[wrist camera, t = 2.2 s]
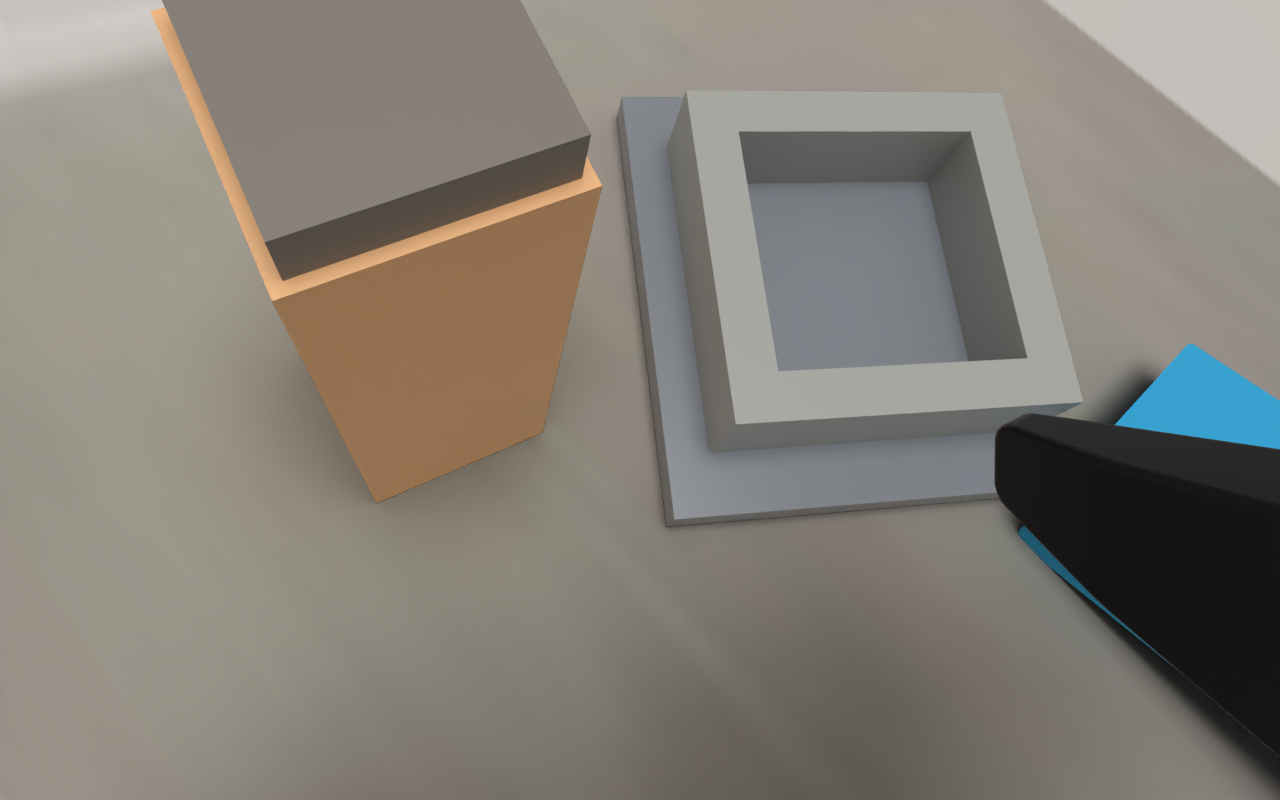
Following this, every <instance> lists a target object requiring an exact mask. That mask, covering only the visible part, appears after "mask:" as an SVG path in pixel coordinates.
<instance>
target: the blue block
mask: <svg viewBox="0 0 1280 800" xmlns="http://www.w3.org/2000/svg"><path fill="white" fill-rule="evenodd" d="M1115 425H1118V426H1125V427H1132V428H1139V429H1146V430H1152V431H1159V432H1166V433H1173V434H1180V435H1187V436H1194V437H1200V438H1207V439H1214V440H1221V441H1228V442H1235V443H1242V444H1249V445H1255V446H1262V447H1269V448H1276V449H1280V401H1279V400H1277V399H1276V398H1274V397H1273V396H1271V395H1270V394H1268V393H1267V392H1265V391H1263V390H1262V389H1260V388H1259V387H1257V386H1256V385H1254V384H1253V383H1251V382H1250V381H1248V380H1247V379H1245V378H1244V377H1242V376H1241V375H1239V374H1238V373H1236V372H1235V371H1233V370H1232V369H1230V368H1228V367H1227V366H1225V365H1224V364H1222V363H1221V362H1219V361H1218V360H1216V359H1215V358H1213V357H1212V356H1210V355H1209V354H1207V353H1206V352H1204V351H1203V350H1201V349H1200V348H1198V347H1197V346H1195V345H1193V344H1188V345H1187V346H1186V347H1185V348H1184V349H1183V350H1182V351H1181V353H1180V354H1179V355H1178V356H1177V357H1176V358H1175V359H1174V360H1173V361H1172V362H1171V364H1170V365H1169V366H1168V367H1167V368H1166V369H1165V370H1164V371H1163V372H1162V373H1161V375H1160V376H1159V377H1158V378H1157V379H1156V380H1155V381H1154V382H1153V383H1152V384H1151V386H1150V387H1149V388H1148V389H1147V390H1146V391H1145V392H1144V393H1143V394H1142V395H1141V397H1140V398H1139V399H1138V400H1137V401H1136V402H1135V403H1134V404H1133V405H1132V406H1131V408H1130V409H1129V410H1128V411H1127V412H1126V413H1125V414H1124V415H1123V416H1122V417H1121V419H1120V420H1119V421H1118V422H1117V423H1116V424H1115ZM1019 536H1020V537H1021V538H1022V539H1023V540H1024V541H1025V542H1026V544H1027V545H1028V546H1029V547H1030V548H1031V549H1032V550H1033V551H1034V552H1035V553H1036V554H1037V555H1038V556H1039V557H1040V558H1041V559H1042V560H1043V561H1044V562H1045V563H1046V564H1047V565H1048V566H1049V567H1051V568H1052V569H1053V570H1054V571H1055V572H1057V573H1058V574H1059V575H1060V576H1062V577H1063V578H1064V579H1065V580H1067V581H1068V582H1069V583H1070V584H1072V585H1073V586H1074V587H1075V588H1076V589H1078V590H1079V591H1080V592H1081V593H1083V594H1084V595H1085V596H1086V597H1088V598H1089V599H1090V600H1091V601H1093V602H1094V603H1095V604H1096V605H1097V606H1099V607H1100V608H1101V609H1102V610H1104V611H1105V612H1106V613H1107V614H1109V615H1110V616H1111V617H1112V618H1114V619H1115V620H1116V621H1117V622H1118V623H1120V624H1121V625H1122V626H1123V627H1125V628H1126V629H1127V630H1128V631H1130V632H1131V633H1132V634H1133V635H1135V636H1136V637H1137V638H1138V639H1140V640H1141V641H1142V642H1143V643H1144V644H1146V645H1147V646H1148V647H1149V648H1151V647H1150V646H1149V645H1148V644H1147V643H1145V642H1144V641H1143V640H1142V639H1141V638H1140V637H1138V636H1137V635H1136V634H1135V633H1134V632H1133V631H1131V630H1130V629H1129V628H1128V627H1127V626H1126V625H1124V624H1123V623H1122V622H1121V621H1120V620H1119V619H1117V618H1116V617H1115V616H1114V615H1113V614H1112V613H1110V612H1109V611H1108V610H1107V609H1106V608H1105V607H1104V606H1103V605H1102V604H1100V603H1099V602H1098V601H1097V600H1096V599H1095V598H1094V597H1093V596H1092V595H1091V594H1090V593H1089V592H1088V591H1087V590H1086V589H1085V588H1084V587H1083V586H1082V585H1081V584H1080V583H1079V582H1078V581H1077V580H1076V579H1075V578H1074V577H1073V576H1072V575H1071V574H1070V573H1069V572H1068V571H1067V570H1066V569H1065V568H1064V567H1063V566H1062V565H1061V564H1060V562H1059V561H1058V560H1057V559H1056V558H1055V557H1054V556H1053V555H1052V554H1051V553H1050V552H1049V551H1048V550H1047V549H1046V548H1045V547H1044V546H1043V545H1042V544H1041V543H1040V542H1039V541H1038V540H1037V539H1036V538H1035V537H1034V535H1033V534H1032V533H1031V532H1030V531H1029V530H1028V529H1027V528H1026V527H1025V526H1023V527H1022V528H1021V529H1020V530H1019ZM1151 649H1152V648H1151ZM1152 650H1153V651H1154V652H1156V651H1155V650H1154V649H1152ZM1156 653H1157V652H1156ZM1157 654H1158V653H1157ZM1158 655H1159V654H1158ZM1159 656H1161V655H1159ZM1161 657H1162V656H1161ZM1162 658H1163V657H1162ZM1163 659H1164V658H1163ZM1164 660H1165V659H1164ZM1165 661H1166V660H1165ZM1167 662H1168V661H1167ZM1168 663H1169V662H1168ZM1169 664H1170V663H1169ZM1170 665H1171V664H1170ZM1174 668H1175V667H1174ZM1175 669H1176V668H1175Z"/></svg>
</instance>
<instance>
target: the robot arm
mask: <svg viewBox="0 0 1280 800" xmlns="http://www.w3.org/2000/svg"><path fill="white" fill-rule="evenodd" d="M994 484H995V489H996V492H997V494H998V496H999V498H1000V500H1001V501H1002V503H1003V504H1004V505H1005V506H1006V507H1007V508H1008V509H1009V511H1010V512H1011V513H1012V514H1013V515H1014V516H1015V517H1016V518H1017V519H1018V520H1019V521H1020V522H1021V523H1022V524H1023V525H1024V526H1025V527H1026V528H1027V529H1028V530H1029V531H1030V532H1031V533H1032V534H1033V535H1034V537H1035V538H1036V539H1037V540H1038V541H1039V542H1040V543H1041V544H1042V545H1043V546H1044V547H1045V548H1046V549H1047V550H1048V551H1049V552H1050V553H1051V554H1052V555H1053V556H1054V557H1055V558H1056V559H1057V560H1058V561H1059V562H1060V564H1061V565H1062V566H1063V567H1064V568H1065V569H1066V570H1067V571H1068V572H1069V573H1070V574H1071V575H1072V576H1073V577H1074V578H1075V579H1076V580H1077V581H1078V582H1079V583H1080V584H1081V585H1082V586H1083V587H1084V588H1085V589H1086V590H1087V591H1088V592H1089V593H1090V594H1091V595H1092V596H1093V597H1094V598H1095V599H1096V600H1097V601H1098V602H1099V603H1100V604H1102V605H1103V606H1104V607H1105V608H1106V609H1107V610H1108V611H1109V612H1110V613H1112V614H1113V615H1114V616H1115V617H1116V618H1117V619H1119V620H1120V621H1121V622H1122V623H1123V624H1124V625H1126V626H1127V627H1128V628H1129V629H1130V630H1131V631H1133V632H1134V633H1135V634H1136V635H1137V636H1138V637H1140V638H1141V639H1142V640H1143V641H1144V642H1145V643H1147V644H1148V645H1149V646H1150V647H1151V648H1152V649H1154V650H1155V651H1156V652H1157V653H1158V654H1159V655H1161V656H1162V657H1163V658H1164V659H1165V660H1166V661H1168V662H1169V663H1170V664H1171V665H1172V666H1173V667H1175V668H1176V669H1177V670H1178V671H1179V672H1180V673H1182V674H1183V675H1184V676H1185V677H1186V678H1187V679H1189V680H1190V681H1191V682H1192V683H1193V684H1194V685H1196V686H1197V687H1198V688H1199V689H1200V690H1201V691H1203V692H1204V693H1205V694H1206V695H1207V696H1208V697H1210V698H1211V699H1212V700H1213V701H1214V702H1215V703H1217V704H1218V705H1219V706H1220V707H1221V708H1222V709H1224V710H1225V711H1226V712H1227V713H1228V714H1229V715H1231V716H1232V717H1233V718H1234V719H1235V720H1236V721H1238V722H1239V723H1240V724H1241V725H1242V726H1243V727H1245V728H1246V729H1247V730H1248V731H1249V732H1250V733H1252V734H1253V735H1254V736H1255V737H1256V738H1257V739H1259V740H1260V741H1261V742H1262V743H1263V744H1264V745H1266V746H1267V747H1268V748H1269V749H1270V750H1271V751H1273V752H1274V753H1275V754H1276V755H1277V756H1278V757H1280V449H1276V448H1269V447H1262V446H1255V445H1249V444H1242V443H1235V442H1228V441H1221V440H1214V439H1207V438H1200V437H1194V436H1187V435H1180V434H1173V433H1166V432H1159V431H1152V430H1146V429H1139V428H1132V427H1125V426H1118V425H1111V424H1104V423H1098V422H1091V421H1084V420H1077V419H1070V418H1063V417H1057V416H1050V415H1043V414H1036V413H1028V414H1024V415H1022V416H1020V417H1018V418H1016V419H1014V420H1012V421H1010V422H1008V423H1006V424H1004V425H1002V426H1001V427H999V428H998V430H997V432H996V434H995V451H994Z"/></svg>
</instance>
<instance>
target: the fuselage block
mask: <svg viewBox="0 0 1280 800" xmlns="http://www.w3.org/2000/svg"><path fill="white" fill-rule="evenodd" d="M162 1H163V4H164V6H165V8H161V9H157V10H153V11H151V13H152V16H153V18H154V20H155V23H156V25H157V28H158V30H159V32H160V35H161V37H162V40H163V42H164V44H165V47H166V49H167V51H168V54H169V56H170V59H171V61H172V63H173V66H174V68H175V71H176V73H177V75H178V78H179V80H180V83H181V85H182V87H183V90H184V92H185V94H186V97H187V99H188V102H189V104H190V106H191V109H192V111H193V114H194V116H195V118H196V121H197V123H198V125H199V128H200V130H201V133H202V135H203V137H204V140H205V142H206V145H207V147H208V149H209V152H210V154H211V157H212V159H213V161H214V164H215V166H216V168H217V171H218V173H219V176H220V178H221V180H222V183H223V185H224V188H225V190H226V192H227V195H228V197H229V200H230V202H231V204H232V207H233V209H234V211H235V214H236V216H237V219H238V221H239V223H240V226H241V228H242V231H243V233H244V235H245V238H246V240H247V242H248V245H249V247H250V250H251V252H252V254H253V257H254V259H255V262H256V264H257V266H258V269H259V271H260V274H261V276H262V278H263V281H264V283H265V285H266V288H267V290H268V293H269V295H270V297H271V300H272V302H273V304H274V306H275V308H276V310H277V312H278V314H279V316H280V317H281V319H282V321H283V323H284V325H285V327H286V329H287V331H288V333H289V335H290V337H291V339H292V341H293V343H294V345H295V347H296V349H297V350H298V352H299V354H300V356H301V358H302V360H303V362H304V364H305V366H306V368H307V370H308V372H309V374H310V376H311V378H312V380H313V381H314V383H315V385H316V387H317V389H318V391H319V393H320V395H321V397H322V399H323V401H324V403H325V405H326V407H327V409H328V411H329V413H330V414H331V416H332V418H333V420H334V422H335V424H336V426H337V428H338V430H339V432H340V434H341V436H342V438H343V440H344V442H345V444H346V445H347V447H348V449H349V451H350V453H351V455H352V457H353V459H354V461H355V463H356V465H357V467H358V469H359V471H360V473H361V475H362V477H363V478H364V480H365V482H366V484H367V486H368V488H369V490H370V492H371V494H372V496H373V498H374V500H375V502H376V503H378V502H381V501H383V500H386V499H388V498H390V497H393V496H395V495H397V494H400V493H402V492H404V491H407V490H409V489H411V488H414V487H416V486H418V485H421V484H423V483H426V482H428V481H430V480H433V479H435V478H437V477H440V476H442V475H444V474H447V473H449V472H451V471H454V470H456V469H458V468H461V467H463V466H466V465H468V464H470V463H473V462H475V461H477V460H480V459H482V458H484V457H487V456H489V455H491V454H494V453H496V452H498V451H501V450H503V449H506V448H508V447H510V446H513V445H515V444H517V443H520V442H522V441H524V440H527V439H529V438H531V437H534V436H536V435H538V434H541V433H542V432H543V428H544V424H545V420H546V415H547V411H548V407H549V403H550V399H551V395H552V391H553V387H554V382H555V378H556V374H557V370H558V366H559V362H560V358H561V354H562V349H563V345H564V341H565V337H566V333H567V329H568V325H569V321H570V316H571V312H572V308H573V304H574V300H575V296H576V292H577V288H578V283H579V279H580V275H581V271H582V267H583V263H584V259H585V255H586V250H587V246H588V242H589V238H590V234H591V230H592V226H593V221H594V217H595V213H596V209H597V205H598V201H599V197H600V193H601V188H602V185H601V183H600V181H599V179H598V177H597V175H596V173H595V171H594V169H593V167H592V165H591V164H590V162H589V160H588V158H587V151H588V146H589V141H590V136H591V134H590V132H589V130H588V128H587V126H586V124H585V122H584V120H583V119H582V117H581V115H580V113H579V111H578V109H577V107H576V105H575V103H574V101H573V100H572V98H571V96H570V94H569V92H568V90H567V88H566V86H565V84H564V83H563V81H562V79H561V77H560V75H559V73H558V71H557V69H556V67H555V65H554V64H553V62H552V60H551V58H550V56H549V54H548V52H547V50H546V48H545V46H544V45H543V43H542V41H541V39H540V37H539V35H538V33H537V31H536V29H535V28H534V26H533V24H532V22H531V20H530V18H529V16H528V14H527V12H526V10H525V9H524V7H523V5H522V3H521V1H520V0H162Z"/></svg>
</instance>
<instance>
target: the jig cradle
mask: <svg viewBox="0 0 1280 800" xmlns="http://www.w3.org/2000/svg"><path fill="white" fill-rule="evenodd" d="M617 123H618V131H619V139H620V148H621V156H622V164H623V172H624V181H625V189H626V197H627V205H628V214H629V222H630V230H631V238H632V247H633V255H634V263H635V271H636V280H637V288H638V296H639V304H640V313H641V321H642V329H643V337H644V346H645V354H646V362H647V370H648V379H649V387H650V395H651V403H652V412H653V420H654V428H655V436H656V445H657V453H658V461H659V469H660V478H661V486H662V494H663V502H664V511H665V519H666V527H669V526H680V525H692V524H704V523H716V522H727V521H739V520H751V519H763V518H774V517H786V516H798V515H810V514H822V513H833V512H845V511H857V510H869V509H880V508H892V507H904V506H916V505H927V504H939V503H951V502H963V501H974V500H986V499H998V498H999V496H998V494H997V492H996V489H995V484H994V451H995V434H996V432H997V430H998V428H999V427H1001V426H1002V425H1004V424H1006V423H1008V422H1010V421H1012V420H1014V419H1016V418H1018V417H1020V416H1022V415H1024V414H1028V413H1036V414H1043V415H1050V416H1057V417H1059V414H1060V413H1063V412H1065V411H1067V410H1069V409H1071V408H1073V407H1075V406H1077V405H1079V404H1081V403H1083V398H1082V394H1081V391H1080V387H1079V383H1078V379H1077V375H1076V372H1075V368H1074V364H1073V360H1072V357H1071V353H1070V349H1069V345H1068V342H1067V338H1066V334H1065V330H1064V327H1063V323H1062V319H1061V315H1060V311H1059V308H1058V304H1057V300H1056V296H1055V293H1054V289H1053V285H1052V281H1051V278H1050V274H1049V270H1048V266H1047V262H1046V259H1045V255H1044V251H1043V247H1042V244H1041V240H1040V236H1039V232H1038V229H1037V225H1036V221H1035V217H1034V214H1033V210H1032V206H1031V202H1030V198H1029V195H1028V191H1027V187H1026V183H1025V180H1024V176H1023V172H1022V168H1021V165H1020V161H1019V157H1018V153H1017V150H1016V146H1015V142H1014V138H1013V134H1012V131H1011V127H1010V123H1009V119H1008V116H1007V112H1006V108H1005V104H1004V101H1003V97H1002V93H932V92H821V91H709V90H686V92H685V95H684V97H622V99H621V103H620V107H619V112H618V116H617Z"/></svg>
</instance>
